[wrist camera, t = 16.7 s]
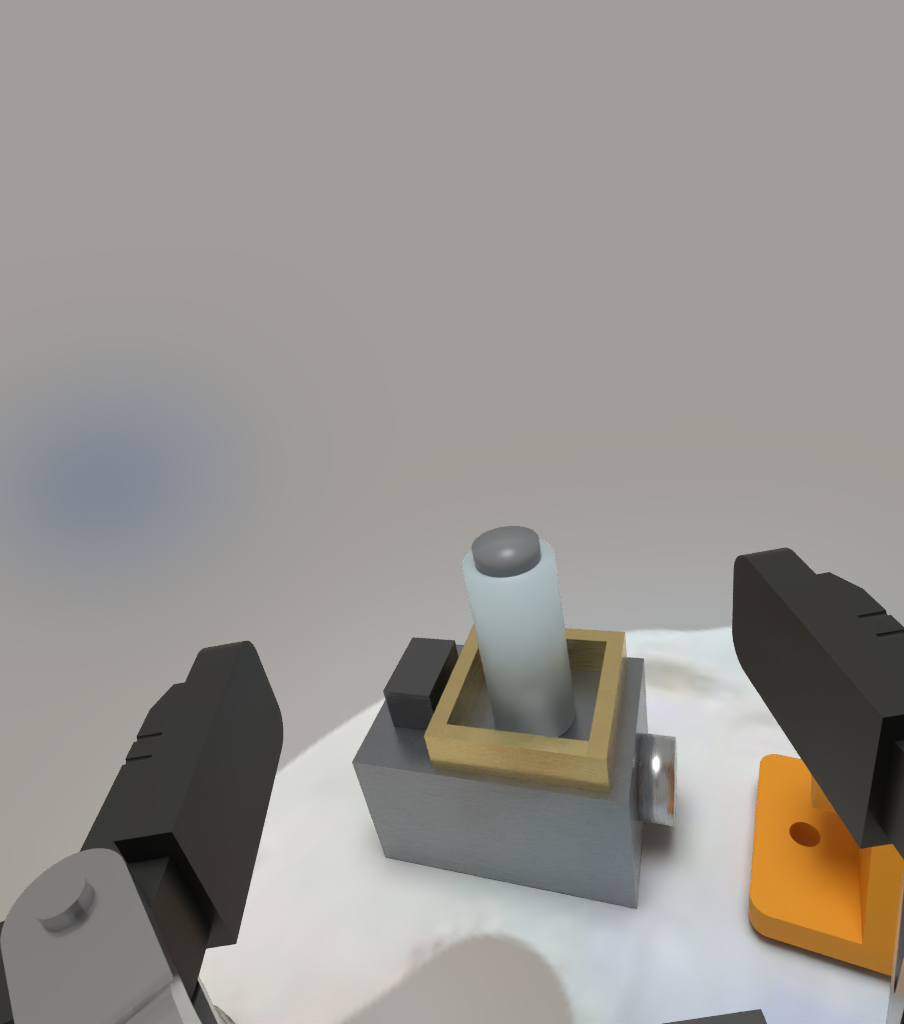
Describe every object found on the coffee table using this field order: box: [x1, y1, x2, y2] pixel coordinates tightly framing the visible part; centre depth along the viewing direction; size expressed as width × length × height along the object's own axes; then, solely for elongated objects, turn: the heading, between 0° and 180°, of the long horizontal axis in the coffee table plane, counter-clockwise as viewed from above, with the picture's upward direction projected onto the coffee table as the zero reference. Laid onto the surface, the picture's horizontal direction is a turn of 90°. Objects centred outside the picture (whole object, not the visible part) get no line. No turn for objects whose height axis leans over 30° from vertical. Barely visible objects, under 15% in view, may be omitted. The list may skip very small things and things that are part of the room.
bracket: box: [749, 754, 904, 976], centre depth 35 cm, size 11×7×12 cm, turn 155°
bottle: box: [462, 526, 576, 738], centre depth 38 cm, size 5×5×12 cm
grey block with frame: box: [352, 624, 677, 908], centre depth 42 cm, size 18×11×12 cm, turn 72°
